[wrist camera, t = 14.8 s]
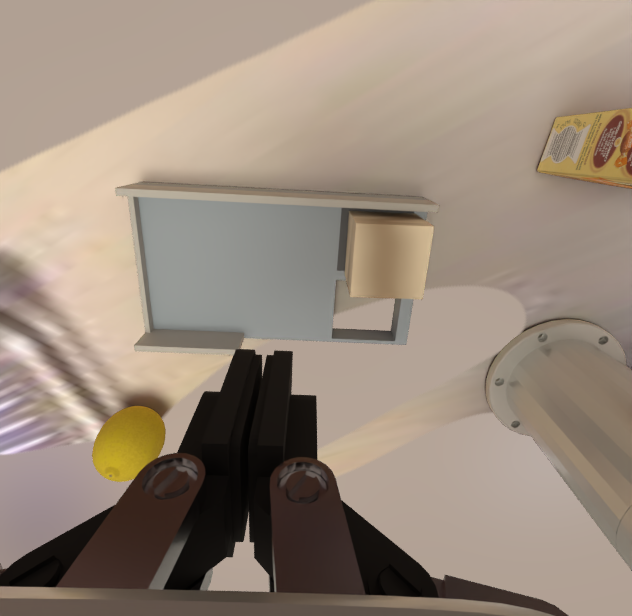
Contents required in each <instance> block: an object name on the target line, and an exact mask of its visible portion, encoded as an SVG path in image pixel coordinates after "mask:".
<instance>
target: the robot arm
mask: <svg viewBox="0 0 632 616" xmlns="http://www.w3.org/2000/svg"><path fill="white" fill-rule="evenodd" d="M292 353H293V352H292V351H274V355H267V357H266V363H265V367H264V372H263V376H262V355H256V354H255V350H248V349H236V350H235V353H234V356H233V358H232V361H231V364H230V367H229V369H228V372H227V375H226V377H225V380H224V383H223V386H222V388H221V391H220V392H208V391H206V392H204V393H203V395H202V397H201V399H200V402H199V404H198V406H197V409H196V411H195V413H194V416H193V418H192V420H191V422H190V424H189V427H188V429H187V431H186V434H185V436H184V438H183V441H182V443H181V445H180V447H179V450H178V452H177V453H173V454H167V455H164V456H161V457H159V458H156V459H154V460H153V461H151V462H150V463H148V464H147V465H146V466H145V467H144V468H143V469H142V470H141V471H140V472H139V473H138V474H137V476H136V477H135V479H134V480H133V481H132V483H131V484H130V485H129V487H128V488H127V490H126V491H125V493H124V494H123V495H122V497H121V498H120V499H119V501H118V502H117V503H116V505H114V506H112V507H110V508H108V509H107V510H105V511H103V512H101V513H99V514H98V515H96V516H95V517H92V518H91V519H89V520H87V521H85V522H84V523H82V524H80V525H78V526H76V527H74V528H73V529H71V530H69V531H67V532H65V533H64V534H62V535H60V536H58V537H57V538H55V539H53V540H51V541H49V542H47V543H46V544H44V545H42V546H40V547H38V548H37V549H35V550H33V551H32V552H29V553H28V554H26V555H25V556H23V557H22V558H20V559H19V560H17V561H16V562H14V563H13V564H12V565H11V566H10V567H9V568H7V569H3V568H2V566H1V564H0V616H568V615H567V614H566V613H564V612H563V611H562V610H560V609H559V608H558V607H556V606H555V605H552V604H550V603H548V602H546V601H543V600H540V599H537V598H533V597H529V596H525V595H521V594H518V593H513V592H510V591H506V590H502V589H498V588H495V587H491V586H487V585H483V584H479V583H475V582H471V581H468V580H464V579H460V578H456V577H452V576H448V575H445V576H444V580H441V579H437V578H433V577H430V575H429V573H428V572H426V570H425V569H424V568H423V567H422V566H421V565H420V564H419V563H418V562H416V561H415V560H414V559H413V558H411V557H410V556H409V555H408V554H407V553H405V552H404V551H403V550H402V549H400V548H399V547H398V546H397V545H395V544H394V543H393V542H392V541H391V540H389V539H388V538H387V537H386V536H385V535H383V534H382V533H381V532H380V531H378V530H377V529H376V528H375V527H374V526H372V525H371V524H370V523H369V522H367V521H366V520H365V519H364V518H363V517H361V516H360V515H359V514H358V513H356V512H355V511H354V510H353V509H352V508H350V507H349V506H348V505H346V504H345V503H344V502H343V501H342V500H341V498H340V493H339V490H338V486H337V482H336V478H335V476H334V474H333V472H332V470H331V469H330V468H329V467H328V466H327V465H326V464H324V463H322V462H321V461H319V460H317V410H316V396H311V395H291V387H292V355H293V354H292ZM485 390H486V397H487V401H488V404H489V406H490V408H491V410H492V411H493V413H494V414H495V416H496V417H497V418H498V420H499V421H500V422H501V423H502V424H503V425H504V426H506V427H508V428H509V429H510V430H512V431H515V432H517V433H520V434H522V435H528V436H531V437H532V438H533V440H534V441H535V442H536V444H537V445H538V446H539V448H540V449H541V450H542V452H543V453H544V454H545V455H546V457H547V458H548V460H549V461H550V462H551V464H552V465H553V466H554V468H555V469H556V470H557V472H558V473H559V474H560V476H561V477H562V478H563V480H564V481H565V482H566V484H567V485H568V486H569V488H570V489H571V490H572V492H573V493H574V494H575V496H576V497H577V499H578V500H579V501H580V503H581V504H582V505H583V507H584V508H585V509H586V511H587V512H588V513H589V515H590V516H591V517H592V519H593V520H594V521H595V523H596V524H597V525H598V527H599V528H600V529H601V531H602V532H603V533H604V535H605V536H606V537H607V539H608V540H609V541H610V543H611V544H612V545H613V547H614V548H615V549H616V551H617V552H618V553H619V555H620V556H621V557H622V559H623V560H624V561H625V563H626V564H627V565H628V566H629V568H630V569H631V571H632V370H631V369H630V368H628V367H627V366H626V358H625V353H624V351H623V349H622V347H621V345H620V343H619V342H618V341H617V340H616V339H615V338H614V337H613V336H612V335H611V334H610V333H608V332H607V331H605V330H604V329H602V328H601V327H599V326H597V325H595V324H592V323H590V322H586V321H582V320H573V319H563V320H555V321H550V322H546V323H543V324H539V325H537V326H535V327H533V328H530V329H528V330H526V331H524V332H523V333H521V334H520V335H518V336H517V337H515V338H514V339H513V340H512V341H510V343H508V344H507V345H506V346H505V347H504V348H503V349H502V350H501V352H500V353H499V354H498V355H497V357H496V358H495V360H494V362H493V363H492V365H491V367H490V369H489V373H488V376H487V379H486V389H485ZM248 513H249V527H250V528H249V530H250V531H249V534H250V542H254V558H255V559H256V560H257V561H258V563H260V565H261V566H262V567H263V568H264V569H265V571H266V572H267V573H268V574H269V592H241V591H207V590H208V587H209V585H210V582H211V578H212V574H213V567H214V566H216V565H217V564H218V563H219V562H220V561H222V560H223V559H224V558H226V557H233V552H234V547H235V542H243V541H244V536H245V530H246V524H247V519H248Z"/></svg>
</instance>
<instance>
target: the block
mask: <svg viewBox="0 0 632 616" xmlns="http://www.w3.org/2000/svg"><path fill="white" fill-rule="evenodd" d="M433 231H434V226H433V225H431V224H430V223H428V222H427V221H425V220H424V219H422V218H421V217H420V216H418V215H417V214H415V213H390V212H365V211H349V220H348V234H347V248H346V262H345V278H346V282H347V286H348V290H349V294H350V297H368V298H397V299H423V295H424V288H425V282H426V276H427V269H428V263H429V256H430V250H431V244H432V237H433Z"/></svg>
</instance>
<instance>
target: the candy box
mask: <svg viewBox="0 0 632 616" xmlns="http://www.w3.org/2000/svg"><path fill="white" fill-rule="evenodd" d="M537 171H538V172H540V173H546V174H550V175H555V176H560V177H566V178H572V179H577V180H583V181H589V182H595V183H600V184H606V185H612V186H618V187H624V188H631V189H632V108H628V109H619V110H612V111H604V112H596V113H589V114H581V115H572V116H565V117H557V118H556V119H555V122H554V125H553V127H552V130H551V133H550V136H549V139H548V142H547V144H546V147H545V150H544V153H543V156H542V158H541V161H540V164H539V166H538V169H537Z"/></svg>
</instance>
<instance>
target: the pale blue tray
mask: <svg viewBox="0 0 632 616" xmlns="http://www.w3.org/2000/svg"><path fill="white" fill-rule="evenodd" d="M115 192H116V196H128V204H129V212H130V220H131V227H132V235H133V243H134V250H135V258H136V266H137V273H138V281H139V289H140V296H141V304H142V312H143V319H144V327H145V334H144V335H143V336H142V337H141V338H140V339H139V341H138V342H137V343H136V344H135V345H134V348H135V351H141V352H166V353H190V354H214V355H234V353H235V350H236V349H240V348H241V345H242V342H243V340H244V338H257V339H280V340H281V339H282V340H305V341H327V342H352V343H375V344H399V345H406V342H407V337H408V330H409V324H410V317H411V312H412V305H413V299H397V298H395V305H394V313H393V320H392V328H391V331H378V330H356V329H333V328H332V327H333V314H334V301H335V288H336V280H345V281H346V278H345V262H346V248H347V234H348V220H349V211H365V212H390V213H415V214H417V215H418V216H420V217H421V218H422V219H424V220H425V221H426V218H427V212H436V213H438V211H439V205H438V204H436V203H434V202H432V201H430V200H428V199H426V198H424V197H415V196H396V195H377V194H359V193H340V192H322V191H303V190H284V189H266V188H247V187H228V186H210V185H191V184H172V183H154V182H139V183H135V184H130V185H126V186H122V187H117V188H115Z"/></svg>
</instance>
